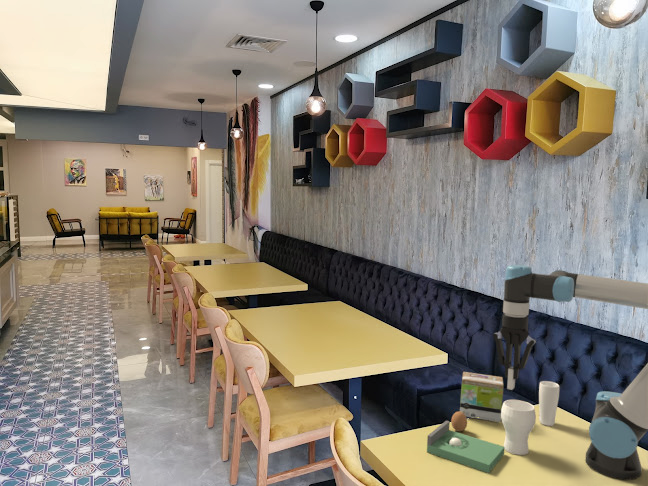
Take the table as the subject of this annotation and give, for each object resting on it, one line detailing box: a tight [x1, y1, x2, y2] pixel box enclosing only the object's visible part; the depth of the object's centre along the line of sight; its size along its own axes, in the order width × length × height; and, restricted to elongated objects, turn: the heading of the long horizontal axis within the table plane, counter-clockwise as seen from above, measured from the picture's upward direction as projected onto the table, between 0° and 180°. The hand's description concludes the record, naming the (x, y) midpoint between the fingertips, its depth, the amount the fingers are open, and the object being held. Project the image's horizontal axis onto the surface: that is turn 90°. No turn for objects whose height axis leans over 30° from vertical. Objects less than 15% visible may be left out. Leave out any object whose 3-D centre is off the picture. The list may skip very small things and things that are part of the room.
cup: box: [501, 399, 537, 456], centre depth 167 cm, size 11×11×15 cm
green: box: [426, 420, 505, 474], centre depth 164 cm, size 20×15×6 cm
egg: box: [450, 410, 468, 433], centre depth 180 cm, size 5×5×7 cm
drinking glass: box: [538, 380, 560, 427], centre depth 189 cm, size 7×7×15 cm
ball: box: [449, 438, 462, 446], centre depth 166 cm, size 4×4×4 cm
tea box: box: [459, 371, 504, 423], centre depth 195 cm, size 15×10×15 cm, turn 73°
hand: (510, 388), depth 161 cm, fingers closed
